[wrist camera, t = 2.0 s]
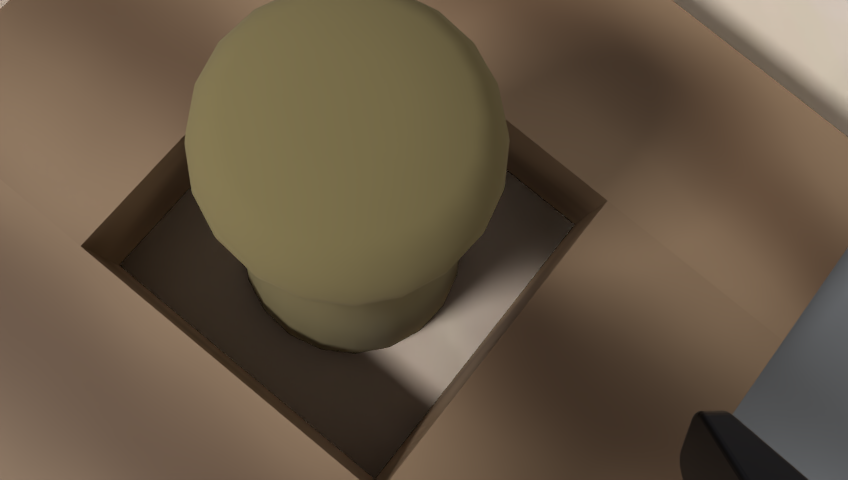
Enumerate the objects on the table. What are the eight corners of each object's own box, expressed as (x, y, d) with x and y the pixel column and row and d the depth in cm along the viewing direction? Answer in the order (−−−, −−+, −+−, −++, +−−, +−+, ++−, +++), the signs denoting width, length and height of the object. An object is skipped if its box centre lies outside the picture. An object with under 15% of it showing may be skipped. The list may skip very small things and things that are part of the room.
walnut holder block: (404, 802, 20) (412, 876, 17) (-188, 292, 21) (-280, 277, 18) (829, 201, 23) (897, 175, 20) (312, -205, 24) (306, -285, 21)
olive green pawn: (282, 114, 22) (213, -134, 12) (485, 175, 23) (599, -15, 12) (213, 317, 21) (64, 250, 10) (427, 380, 21) (496, 377, 11)
